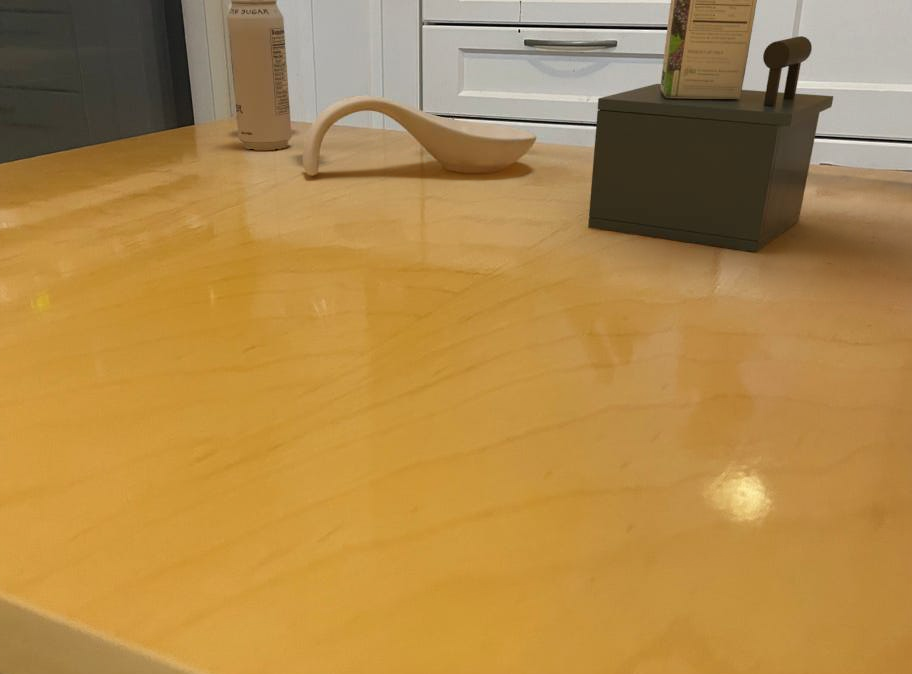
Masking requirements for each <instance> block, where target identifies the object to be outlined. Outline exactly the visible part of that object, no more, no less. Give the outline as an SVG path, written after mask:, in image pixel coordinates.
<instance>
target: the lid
mask: <svg viewBox="0 0 912 674" xmlns="http://www.w3.org/2000/svg"><path fill="white" fill-rule="evenodd" d="M812 49H813V47H812V42H811V41H810V39H809V38H807V37H806V36H801V35H800V36H795V37H789V38H786V39H780V40H777V41H773V42H771V43H770V44H768V45H767V46H766V47H765V49H764V51H763V54H762V60H763V63H764V65H765V66H766V67H767V68H768V69H769V71H768V76H767V83H766V88H765V90H753V89H751V90H749V89H742V93H741V98H740V99H682V98H665V96H664V94H663V92H662V91H661V83H655V84H649V85H645V86H643V87H638V88H635V89H631V90H625V91H623V92H619V93H614V94H610V95H606V96H602V97H598V100H597V111H598V110H609V111H621V112H632V113H643V114H655V115H666V116H678V117H689V118H701V119H712V120H724V121H735V122H746V123H758V124H769V125H781V126H791V125H793V124H796V123H798V122H800V121H802V120H804V119H806V118H809V117H811V116H813V115H815V114H817V113H819V112H820V113H821V112H824V111H826V110H828V109H830V108H832V106H833V102H834V96H833V95H823V94H822V95H821V94H807V93H797V87H798V81H799V77H800V71H801V65H802V63H803V62H805V61H807V60H808V58H809V57H810V56H811V53H812ZM787 67H788V68H787ZM784 68H787V74H786V79H785V80H786V81H785V85H784V91H783V92H782V91H781V92H780V91H779V88H780V82H781V77H782V70H783V69H784ZM820 113H819V114H820Z"/></svg>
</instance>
